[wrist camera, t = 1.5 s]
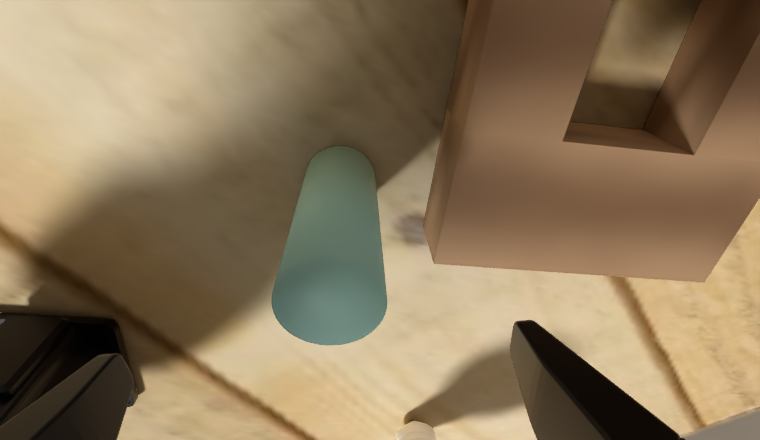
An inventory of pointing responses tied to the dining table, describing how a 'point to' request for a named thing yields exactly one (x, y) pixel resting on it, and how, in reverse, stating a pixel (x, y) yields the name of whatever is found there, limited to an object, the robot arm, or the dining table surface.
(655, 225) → the walnut hole block
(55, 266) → the dining table surface
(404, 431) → the lightbulb
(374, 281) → the long teal pin
